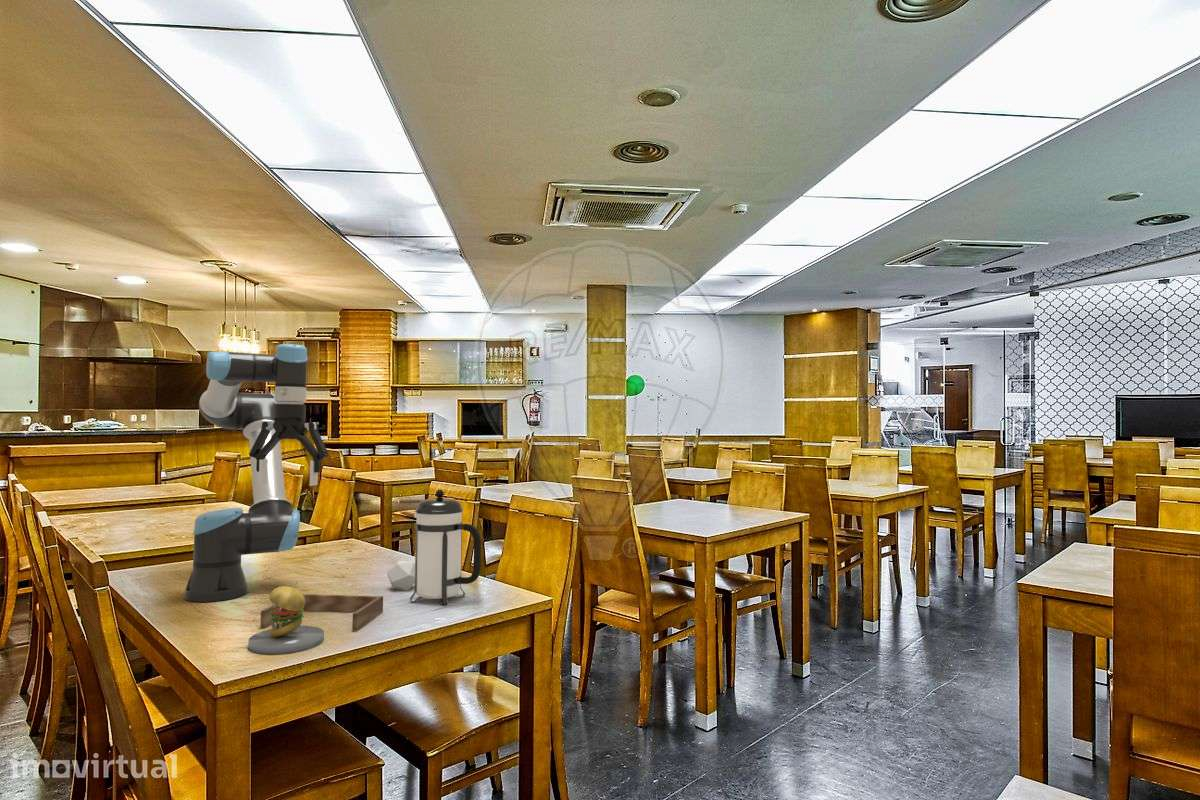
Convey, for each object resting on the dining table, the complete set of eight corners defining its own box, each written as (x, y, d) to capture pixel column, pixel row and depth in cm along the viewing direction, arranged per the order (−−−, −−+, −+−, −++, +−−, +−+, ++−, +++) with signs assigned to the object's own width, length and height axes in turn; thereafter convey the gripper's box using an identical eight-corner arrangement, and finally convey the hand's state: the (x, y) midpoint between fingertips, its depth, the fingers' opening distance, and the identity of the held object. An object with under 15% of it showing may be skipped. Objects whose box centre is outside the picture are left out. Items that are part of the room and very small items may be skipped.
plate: (233, 653, 142) (233, 645, 142) (272, 631, 157) (272, 624, 157) (303, 655, 141) (303, 648, 141) (335, 633, 156) (335, 626, 156)
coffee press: (414, 610, 175) (416, 493, 176) (406, 595, 190) (408, 487, 191) (480, 603, 182) (482, 491, 183) (467, 590, 197) (469, 486, 198)
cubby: (260, 628, 159) (260, 610, 159) (295, 609, 175) (295, 593, 175) (356, 631, 158) (356, 613, 158) (382, 612, 173) (383, 596, 174)
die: (425, 589, 200) (417, 559, 205) (415, 580, 193) (408, 550, 198) (398, 600, 199) (391, 570, 204) (387, 591, 192) (381, 560, 197)
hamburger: (275, 630, 152) (277, 576, 153) (309, 630, 153) (310, 576, 153) (262, 641, 145) (263, 584, 145) (297, 641, 145) (298, 584, 146)
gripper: (235, 402, 176) (233, 485, 175) (330, 403, 174) (328, 486, 173) (252, 403, 183) (250, 482, 182) (343, 404, 181) (341, 484, 181)
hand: (288, 485), depth 178 cm, fingers open, 13 cm apart
